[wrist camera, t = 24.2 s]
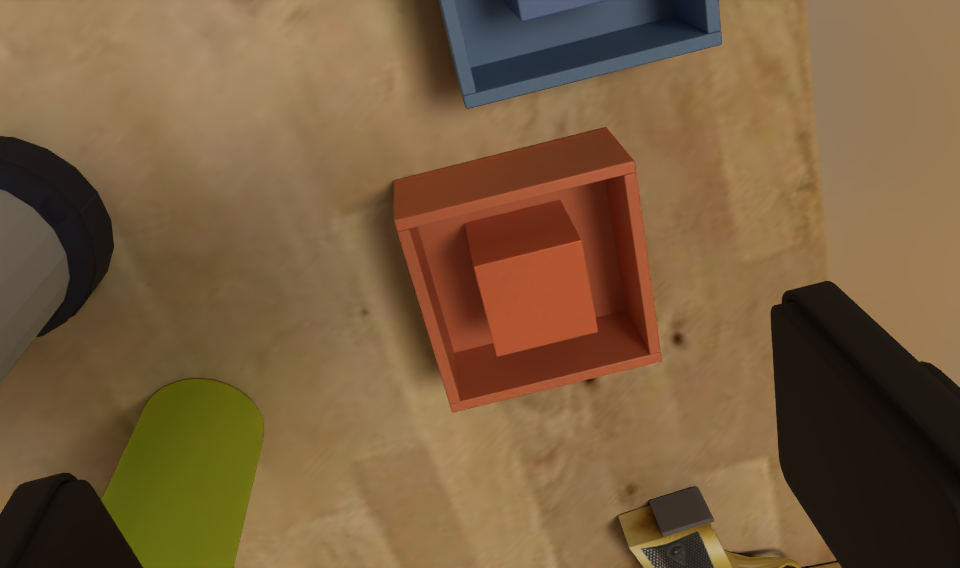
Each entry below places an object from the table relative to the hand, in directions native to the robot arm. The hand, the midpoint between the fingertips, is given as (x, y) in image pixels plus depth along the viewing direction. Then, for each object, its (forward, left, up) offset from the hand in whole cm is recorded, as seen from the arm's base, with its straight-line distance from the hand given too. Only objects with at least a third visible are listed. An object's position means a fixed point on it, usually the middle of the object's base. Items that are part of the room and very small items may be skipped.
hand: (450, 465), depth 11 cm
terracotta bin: (+9, +3, -24) cm, 26 cm away
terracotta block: (+9, +3, -24) cm, 26 cm away
